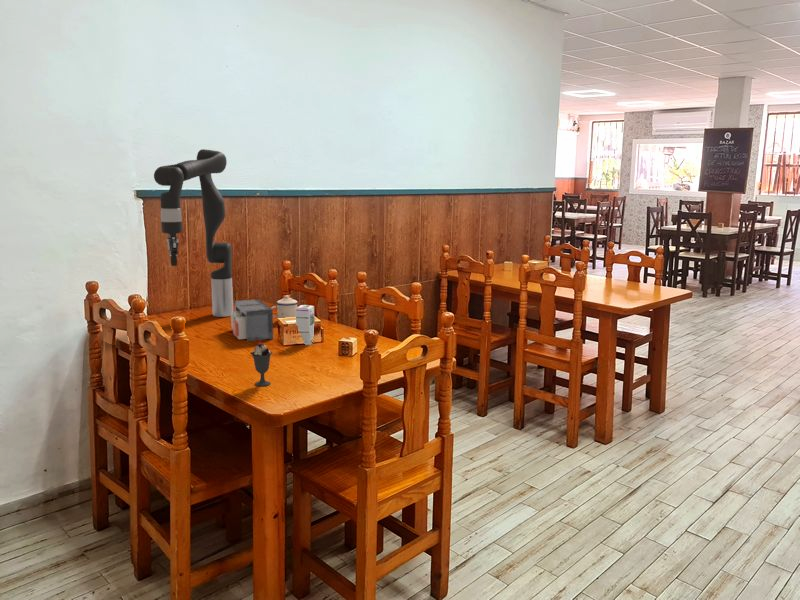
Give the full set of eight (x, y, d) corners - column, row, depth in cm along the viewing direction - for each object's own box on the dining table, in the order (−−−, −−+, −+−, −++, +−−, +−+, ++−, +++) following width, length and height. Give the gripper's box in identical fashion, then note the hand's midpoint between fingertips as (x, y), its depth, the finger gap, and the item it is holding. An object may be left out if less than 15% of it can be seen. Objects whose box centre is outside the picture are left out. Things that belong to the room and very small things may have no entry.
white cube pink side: (233, 336, 257) (232, 317, 256) (256, 334, 261) (255, 315, 260) (235, 339, 253) (235, 319, 251) (259, 337, 257) (258, 317, 255)
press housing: (235, 328, 272) (234, 300, 269) (259, 326, 276) (258, 298, 274) (247, 341, 251) (246, 311, 249) (273, 339, 256) (272, 309, 253)
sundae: (253, 380, 205) (251, 334, 202) (274, 380, 205) (273, 334, 203) (250, 387, 198) (248, 340, 196) (272, 387, 199) (270, 340, 196)
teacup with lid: (295, 318, 291) (295, 293, 289) (299, 323, 283) (299, 297, 280) (269, 320, 287) (268, 294, 285) (272, 325, 279) (271, 298, 277)
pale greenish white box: (231, 330, 268) (230, 311, 266) (253, 328, 272) (253, 309, 270) (234, 333, 263) (233, 313, 261) (256, 331, 267) (256, 312, 265)
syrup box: (310, 345, 247) (309, 308, 244) (295, 344, 248) (295, 307, 246) (315, 341, 253) (314, 305, 250) (301, 340, 254) (300, 304, 251)
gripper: (184, 221, 242) (186, 267, 245) (179, 218, 253) (181, 262, 257) (162, 221, 238) (165, 268, 242) (159, 219, 250) (161, 263, 254)
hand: (174, 265), depth 249 cm, fingers closed
